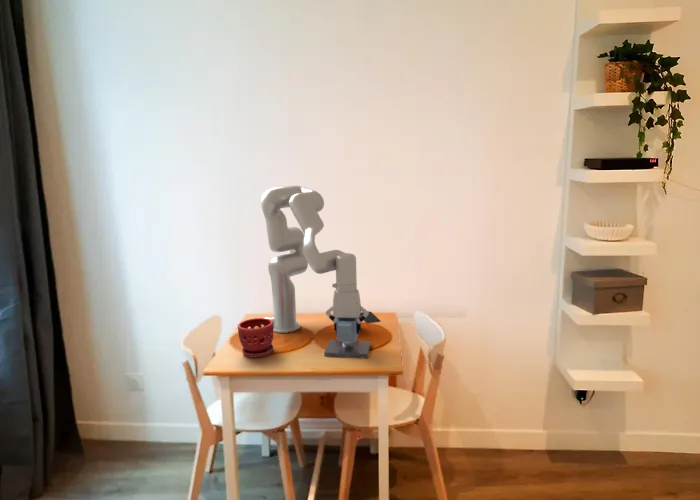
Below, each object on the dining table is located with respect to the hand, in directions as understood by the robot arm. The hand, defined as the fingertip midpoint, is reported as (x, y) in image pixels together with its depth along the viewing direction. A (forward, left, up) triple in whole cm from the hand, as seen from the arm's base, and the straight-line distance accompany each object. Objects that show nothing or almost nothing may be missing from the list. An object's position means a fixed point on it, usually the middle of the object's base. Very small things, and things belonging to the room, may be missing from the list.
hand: (347, 332), depth 192 cm
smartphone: (+4, +37, -8) cm, 38 cm away
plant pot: (-34, -5, -8) cm, 35 cm away
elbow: (0, -2, -2) cm, 3 cm away
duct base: (0, 0, -7) cm, 7 cm away
